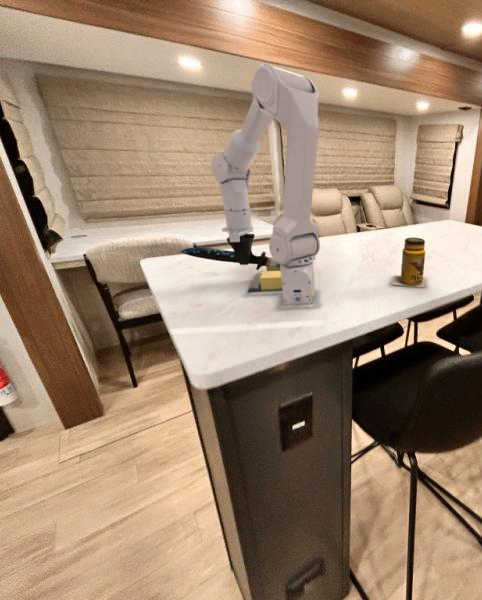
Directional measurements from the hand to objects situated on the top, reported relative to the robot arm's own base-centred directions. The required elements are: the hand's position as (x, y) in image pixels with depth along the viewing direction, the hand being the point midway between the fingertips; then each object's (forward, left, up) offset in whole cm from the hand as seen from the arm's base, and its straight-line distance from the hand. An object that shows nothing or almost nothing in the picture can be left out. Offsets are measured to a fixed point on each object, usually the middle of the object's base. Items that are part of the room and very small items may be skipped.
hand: (245, 263), depth 81 cm
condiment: (-7, -43, -5) cm, 44 cm away
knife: (0, 0, -1) cm, 1 cm away
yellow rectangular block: (-8, -8, -4) cm, 12 cm away
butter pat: (+2, -8, -4) cm, 9 cm away
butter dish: (-5, -8, -5) cm, 10 cm away
